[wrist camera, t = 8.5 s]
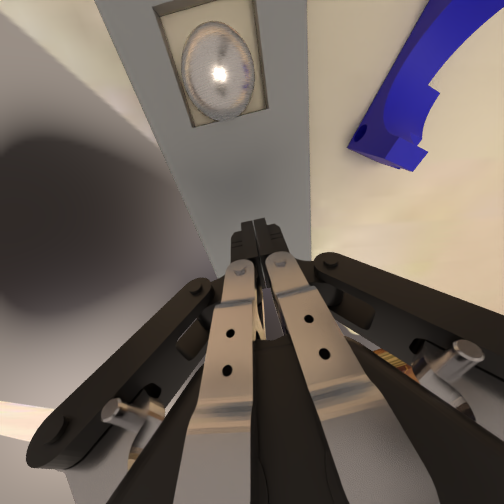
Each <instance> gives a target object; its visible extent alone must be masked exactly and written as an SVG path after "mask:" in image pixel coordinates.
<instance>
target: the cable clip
mask: <svg viewBox="0 0 504 504" xmlns="http://www.w3.org/2000/svg"><path fill="white" fill-rule="evenodd" d="M503 7H504V0H429V2H428V4H427V5H426V7H425V9H424V11H423V13H422V14H421V16H420V18H419V20H418V22H417V23H416V25H415V27H414V29H413V30H412V32H411V34H410V36H409V38H408V39H407V41H406V43H405V45H404V47H403V48H402V50H401V52H400V54H399V55H398V57H397V59H396V61H395V63H394V64H393V66H392V68H391V70H390V72H389V73H388V75H387V77H386V79H385V80H384V82H383V84H382V86H381V88H380V89H379V91H378V93H377V95H376V97H375V98H374V100H373V102H372V104H371V106H370V107H369V109H368V111H367V113H366V114H365V116H364V118H363V120H362V122H361V123H360V125H359V127H358V129H357V131H356V132H355V134H354V136H353V138H352V139H351V141H350V143H349V145H348V147H347V148H348V149H350V150H353V151H355V152H357V153H359V154H361V155H364V156H366V157H368V158H370V159H372V160H375V161H377V162H379V163H382V164H385V165H388V166H391V167H394V168H397V169H400V168H402V169H405V170H408V171H412V172H413V171H414V170H415V168H416V167H417V166H418V164H419V163H420V162H421V161H422V159H423V158H424V157H425V156H426V154H427V153H428V152H427V151H425V150H424V149H422V148H420V147H418V146H417V145H418V144H419V142H420V141H421V140H422V132H423V126H424V123H425V120H426V117H427V115H428V113H429V111H430V109H431V107H432V105H433V103H434V102H435V100H436V99H437V97H438V96H439V94H440V93H439V92H438V91H436V90H434V89H433V88H431V87H430V86H428V84H429V83H430V81H431V80H432V78H433V77H434V76H435V74H436V73H437V72H438V70H439V69H440V68H441V67H442V65H443V64H444V63H445V62H446V61H447V60H448V58H449V57H450V56H451V55H452V54H453V53H454V52H455V51H456V50H457V49H458V47H459V46H460V45H461V44H462V43H463V42H464V41H465V40H466V39H467V38H468V37H469V36H471V35H472V34H473V33H474V32H475V31H476V30H477V29H478V28H479V27H480V26H481V25H483V24H484V23H485V22H486V21H487V20H488V19H489V18H491V17H492V16H493V15H494V14H495V13H497V12H498V11H499V10H500V9H502V8H503Z"/></svg>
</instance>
